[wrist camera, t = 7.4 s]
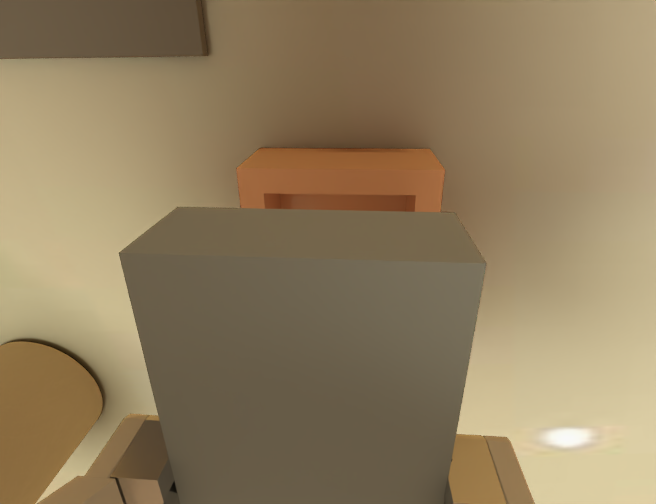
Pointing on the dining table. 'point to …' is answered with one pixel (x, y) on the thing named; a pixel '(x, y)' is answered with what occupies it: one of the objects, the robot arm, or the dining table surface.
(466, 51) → the dining table surface
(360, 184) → the orange frame
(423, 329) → the slate board
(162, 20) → the mat
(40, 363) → the travel mug
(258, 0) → the dining table surface
